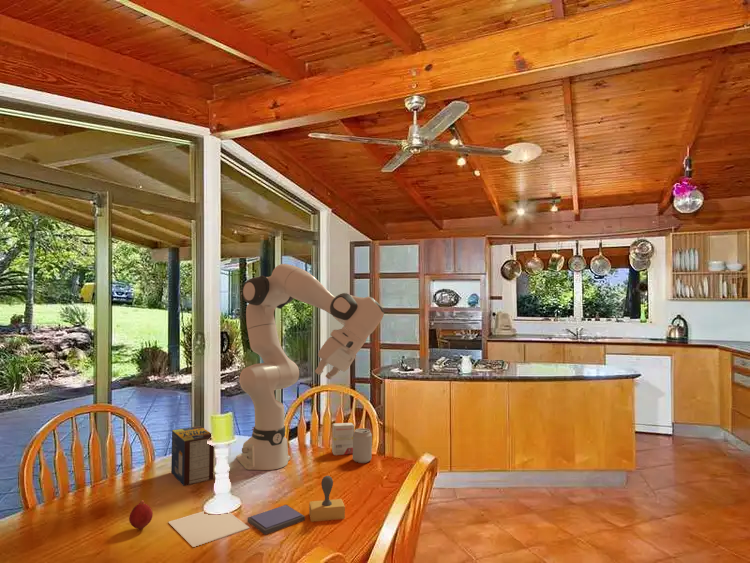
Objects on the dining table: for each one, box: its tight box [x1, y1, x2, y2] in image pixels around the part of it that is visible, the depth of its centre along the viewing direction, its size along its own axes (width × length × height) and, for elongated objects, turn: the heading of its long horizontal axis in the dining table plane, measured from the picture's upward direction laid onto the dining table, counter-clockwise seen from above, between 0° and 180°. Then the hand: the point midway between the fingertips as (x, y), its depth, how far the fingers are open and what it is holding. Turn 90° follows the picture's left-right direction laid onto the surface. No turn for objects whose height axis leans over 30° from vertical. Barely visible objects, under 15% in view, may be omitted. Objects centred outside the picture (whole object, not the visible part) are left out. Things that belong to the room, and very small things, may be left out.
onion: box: [128, 500, 154, 531], centre depth 136 cm, size 6×6×8 cm
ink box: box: [331, 422, 355, 456], centre depth 202 cm, size 9×5×12 cm, turn 104°
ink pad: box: [247, 504, 306, 536], centre depth 142 cm, size 10×13×2 cm
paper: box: [167, 510, 250, 548], centre depth 139 cm, size 18×16×1 cm
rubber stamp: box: [308, 475, 346, 523], centre depth 146 cm, size 10×6×12 cm, turn 103°
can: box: [352, 427, 373, 464], centre depth 193 cm, size 8×8×12 cm
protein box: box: [170, 425, 215, 487], centre depth 175 cm, size 10×15×16 cm
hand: (322, 375), depth 159 cm, fingers open, 8 cm apart
